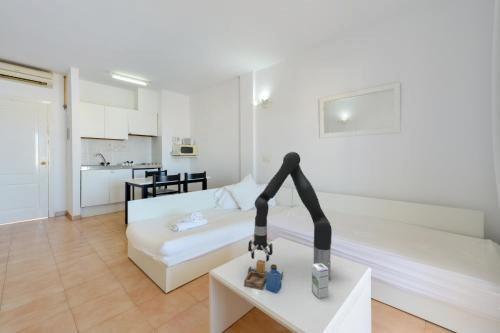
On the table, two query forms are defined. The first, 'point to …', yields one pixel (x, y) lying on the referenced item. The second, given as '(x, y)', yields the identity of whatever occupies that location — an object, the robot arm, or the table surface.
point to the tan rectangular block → (259, 266)
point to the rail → (264, 272)
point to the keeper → (255, 280)
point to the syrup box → (320, 280)
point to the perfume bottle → (273, 280)
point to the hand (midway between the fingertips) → (260, 259)
